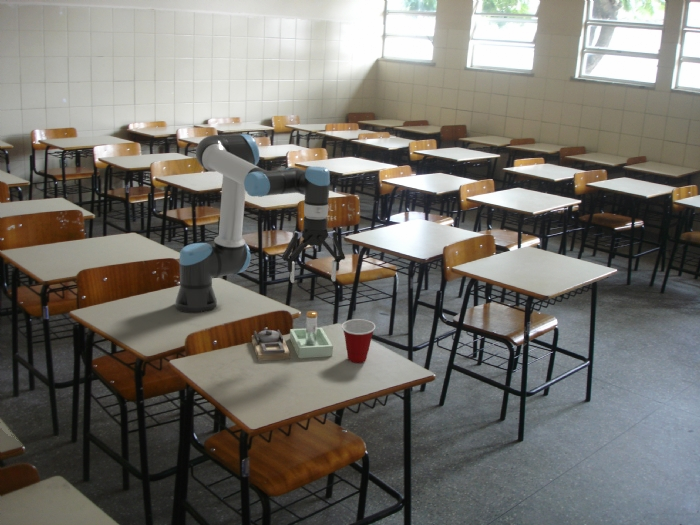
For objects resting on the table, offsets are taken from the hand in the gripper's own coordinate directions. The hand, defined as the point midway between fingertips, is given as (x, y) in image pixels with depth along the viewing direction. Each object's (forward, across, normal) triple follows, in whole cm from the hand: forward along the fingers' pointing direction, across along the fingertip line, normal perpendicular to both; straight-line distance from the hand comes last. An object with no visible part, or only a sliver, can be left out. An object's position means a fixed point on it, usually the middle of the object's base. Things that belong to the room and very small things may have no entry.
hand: (312, 280), depth 229 cm
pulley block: (+23, -13, 0) cm, 27 cm away
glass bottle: (+22, 0, 0) cm, 22 cm away
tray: (+23, 0, 0) cm, 23 cm away
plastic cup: (+23, +13, -12) cm, 29 cm away
